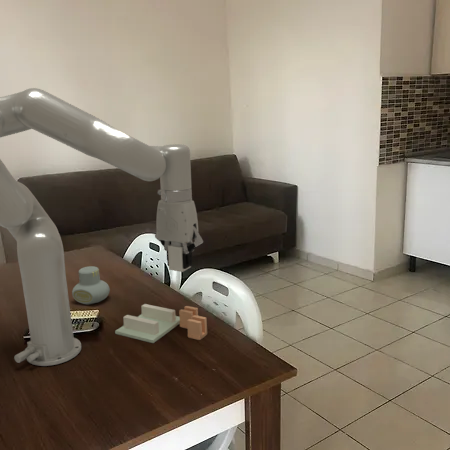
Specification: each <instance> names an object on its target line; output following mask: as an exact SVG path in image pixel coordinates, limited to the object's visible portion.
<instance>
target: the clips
mask: <svg viewBox="0 0 450 450" xmlns="http://www.w3.org/2000/svg"><path fill="white" fill-rule="evenodd" d="M183 308H184V309H182V308H181V309H179V310H178V314H179V317H180V324H179V327H180V328H183V329H187V337H188V338H189V339H194V340H197V341H201V340H202V339H203V338H205V337H206V336H207V335H208V325H207V324H208V322H207V321H208V320H207V317H205V316H201V315H199V308H198V307H194V306H190V305H186V306H184V307H183Z"/></svg>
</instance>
